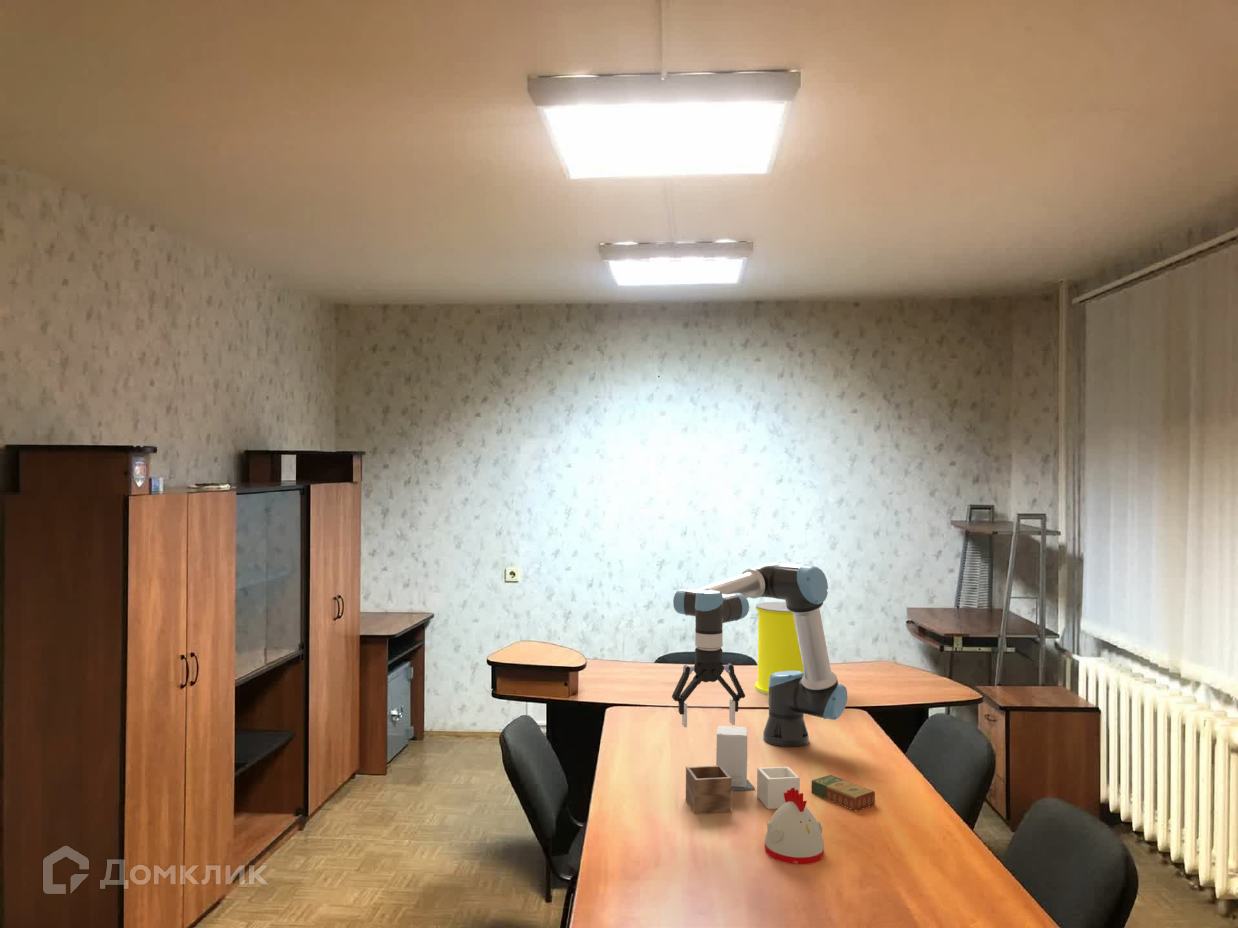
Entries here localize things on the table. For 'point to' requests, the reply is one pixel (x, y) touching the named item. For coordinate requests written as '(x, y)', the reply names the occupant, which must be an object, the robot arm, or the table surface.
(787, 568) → the robot arm
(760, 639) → the container
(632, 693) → the table surface
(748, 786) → the coaster
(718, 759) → the supplement box
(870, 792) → the carton
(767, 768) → the ceramic pot
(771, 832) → the kitchen timer
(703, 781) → the walnut pot
